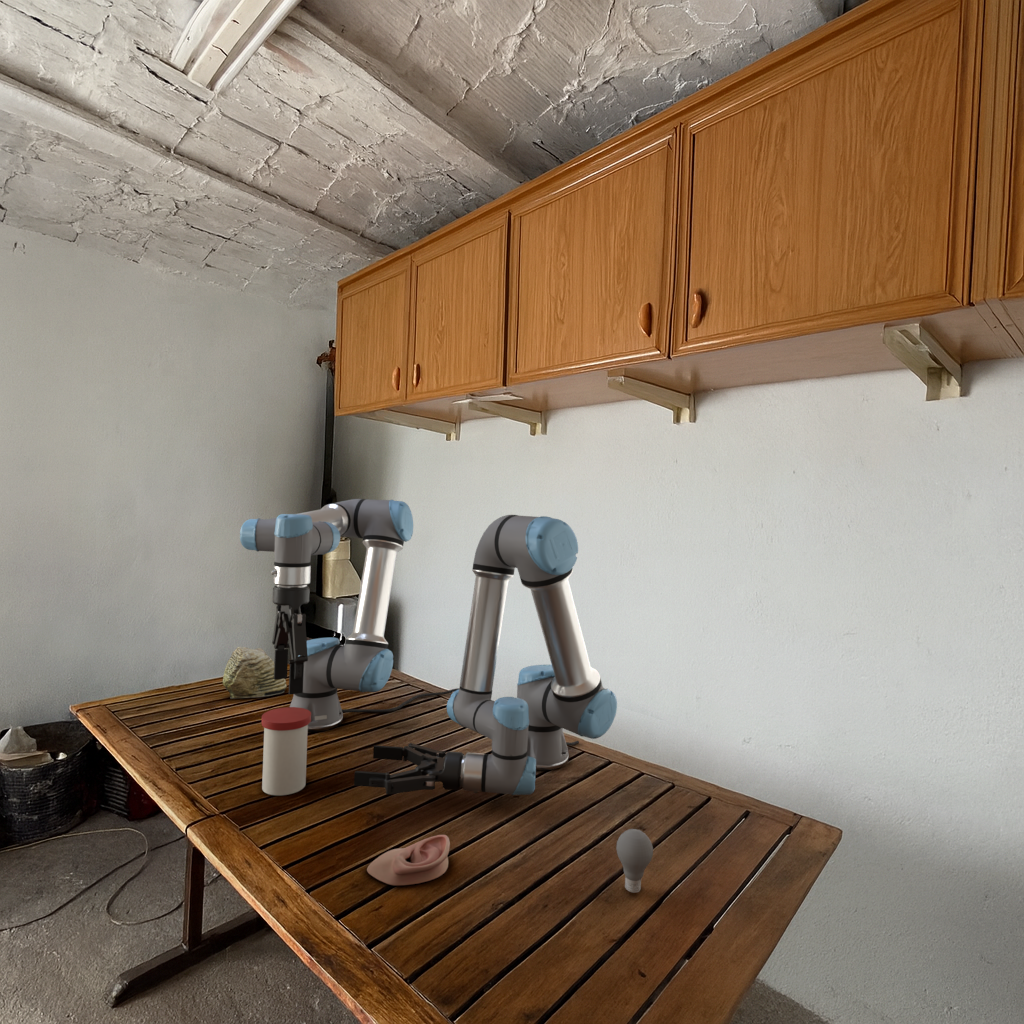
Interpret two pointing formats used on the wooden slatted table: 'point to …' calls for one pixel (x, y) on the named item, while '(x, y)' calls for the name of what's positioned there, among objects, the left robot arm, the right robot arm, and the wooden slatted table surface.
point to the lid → (286, 718)
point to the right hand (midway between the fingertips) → (364, 764)
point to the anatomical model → (412, 862)
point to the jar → (284, 761)
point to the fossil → (251, 674)
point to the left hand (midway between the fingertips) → (287, 685)
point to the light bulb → (634, 857)
